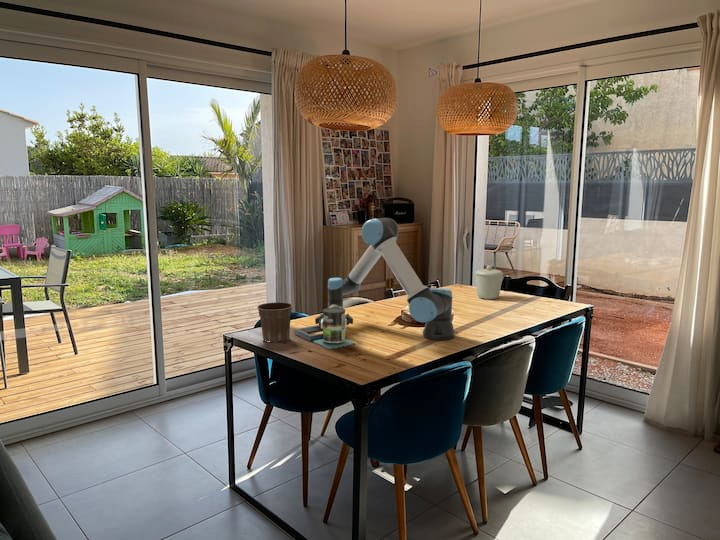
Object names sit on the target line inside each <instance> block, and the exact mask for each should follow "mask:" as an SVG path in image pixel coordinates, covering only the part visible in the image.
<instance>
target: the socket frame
mask: <svg viewBox="0 0 720 540" xmlns="http://www.w3.org/2000/svg"><path fill="white" fill-rule="evenodd" d="M319 330H322V331H321V332H322V333H316V334H310V333H314V332H313V331H316V332H320V331H319ZM293 331H294V332H293V333H295V334H296V336H297V335H298V337H299V336H300V337H299V338H301V337H302V339H304V340H305V341H308V342H310V343H311V342H313V341H315V340H320V339H323V328H321V326H319V324H315V325H312V326H304V327H300V328H295V329H294V330H293ZM307 332H310V333H307ZM295 334H294V335H295Z"/></svg>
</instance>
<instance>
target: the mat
mask: <svg viewBox="0 0 720 540" xmlns="http://www.w3.org/2000/svg"><path fill="white" fill-rule="evenodd" d="M312 343H314V344H317V345H318V344H319V345H318V346H320V345H321V347H323V348H325V349H327V350H329V349H330V350H334V349H339V348H343V346H344V347H348V345H349V346H352V345H353V344H354V345H356V342H354V341H351V340H349V339H347V338H345V341H344V342H341V343H327V342H324V341H323V339H320V340H315V341H312ZM338 347H339V348H338ZM333 348H334V349H333Z"/></svg>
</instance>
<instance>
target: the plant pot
mask: <svg viewBox="0 0 720 540" xmlns="http://www.w3.org/2000/svg"><path fill="white" fill-rule="evenodd" d="M256 308H257V310H258V315H259V318H260V319H259V320H260V324H261V325H260V327H261V333H262V340H263V339H264V340H266V341H270V342H277V343H280V342H282V341H284V342H287V341H289V339H290V335H291V334H290V333H291V332H290V331H291V316H292V308H293V304H292V303H290V302H281V301H280V302H279V301H278V302H266V303H262V304H259V305H257V307H256ZM264 340H263V341H264ZM286 340H287V341H286Z"/></svg>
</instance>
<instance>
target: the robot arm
mask: <svg viewBox="0 0 720 540" xmlns="http://www.w3.org/2000/svg"><path fill="white" fill-rule="evenodd" d="M399 233H400V228H399V225H398V223H397V222H396V221H395V220H394V219H392V218H390V217H383V218H382V217H381V218H371V219H369V220H367V221H365V222H364V223H363V225H362V227H361V239H362V240H363V242H364V243H365V244H366V245H368V248H367V249H366V250H365V251H364V253H363V254H362V256H361V257H360V258H359V260H358V262H357V263H356V264H355V265H354V267H353V268H352V269H351V271H350V272H349V274H348V275H347V276H346V278H345V279H343V278H341V277H331V278H329V279H328V280H327V299H328V300H327V308H343V309H344V296H346V295H349V294H353V293H356V292H357V291H359V290H360V289H361V286H362V285H361V283H362V282H363V281H364V279H365V278H366V277H367V275H368V274H369V272H370V271H371V270H372V269H373V267H374V266H375V264H376V263H377V262H378V261H379V259H380V258H381V257H382V258H383V259H384V261H385V263H386V264H387V265H388V268H389V269H390V270H391V272H392V273H393V275H394V276H395V278H396V280H397V281H398V283H399V285H400V286H401V288H402V289H403V290H404V292H405V294H406V295H407V297H406V298H407V299H406V302H407V304H408V310H409V311H408V312H409V314H410V316H411V318H413V320H415V321H416V322H419V323H425V324H424V328H423V330H422V336H423V338H426V339H428V340H433V341H448V340H453V339H454V338H455V337H456V332H455V329H454V324H453V322H452V318H453V317H452V316H453V312H452V311H453V291H452V290H451V289H448V288H441V287H440V288H439V287H429V286H426V285H424V284H423V282H422V281H421V279H420V278H419V277H418V275H417V273H416V271H415V270H414V268H413V267H412V266H411V264H410V262H409V261H408V259H407V257H406V256H405V254H404V253H403V251H402V250H401V248H400V247H399V245H398V244H397V239H398V235H399ZM314 321H315V323H314V324H315V325H319V326H321V328H323V313H320V315H318V316H317V317H316V318H315V319H314ZM353 324H354V317H352V316H350V314H349V313H345V329H347V326H350V325H353Z"/></svg>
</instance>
